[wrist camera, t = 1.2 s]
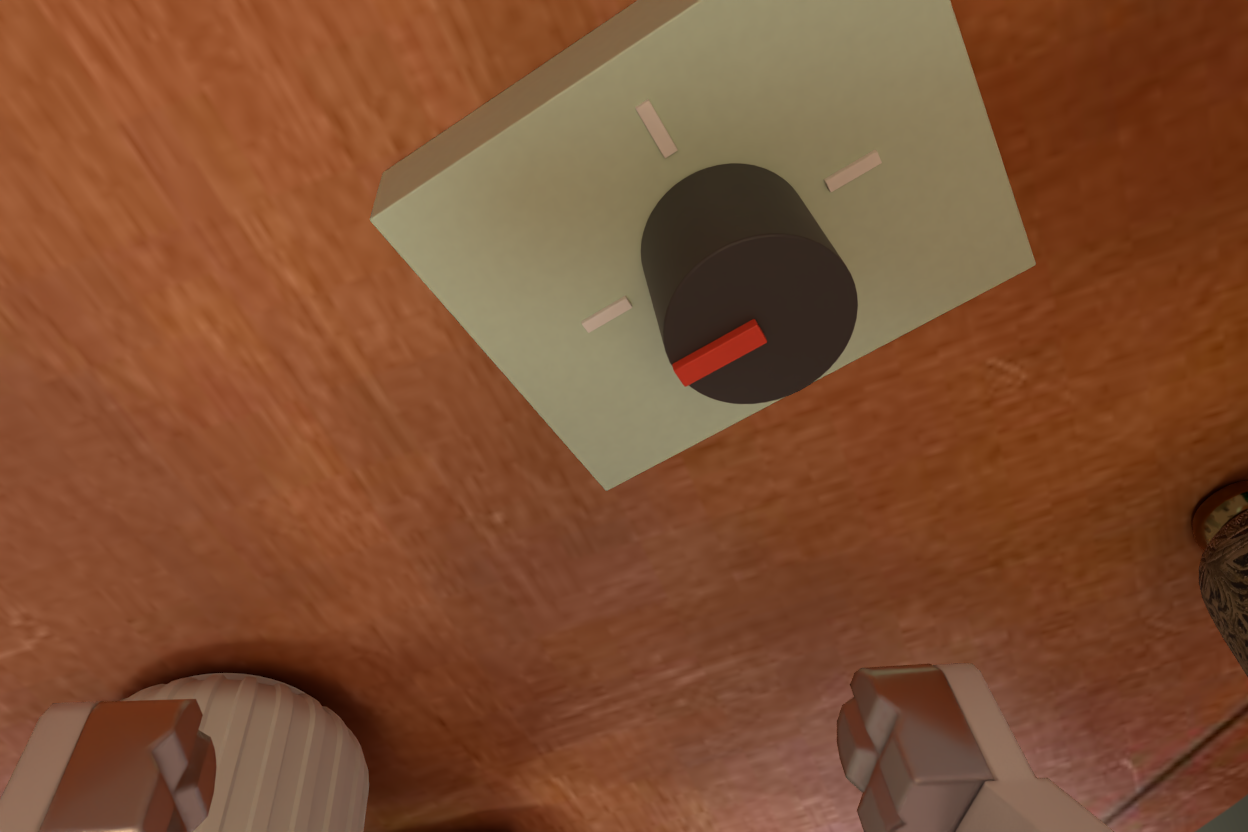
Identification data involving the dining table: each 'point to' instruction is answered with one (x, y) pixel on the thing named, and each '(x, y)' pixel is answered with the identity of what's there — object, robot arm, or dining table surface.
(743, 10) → the panel
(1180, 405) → the dining table surface
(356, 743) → the vase
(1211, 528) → the dark grey rounded lump
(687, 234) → the knob
